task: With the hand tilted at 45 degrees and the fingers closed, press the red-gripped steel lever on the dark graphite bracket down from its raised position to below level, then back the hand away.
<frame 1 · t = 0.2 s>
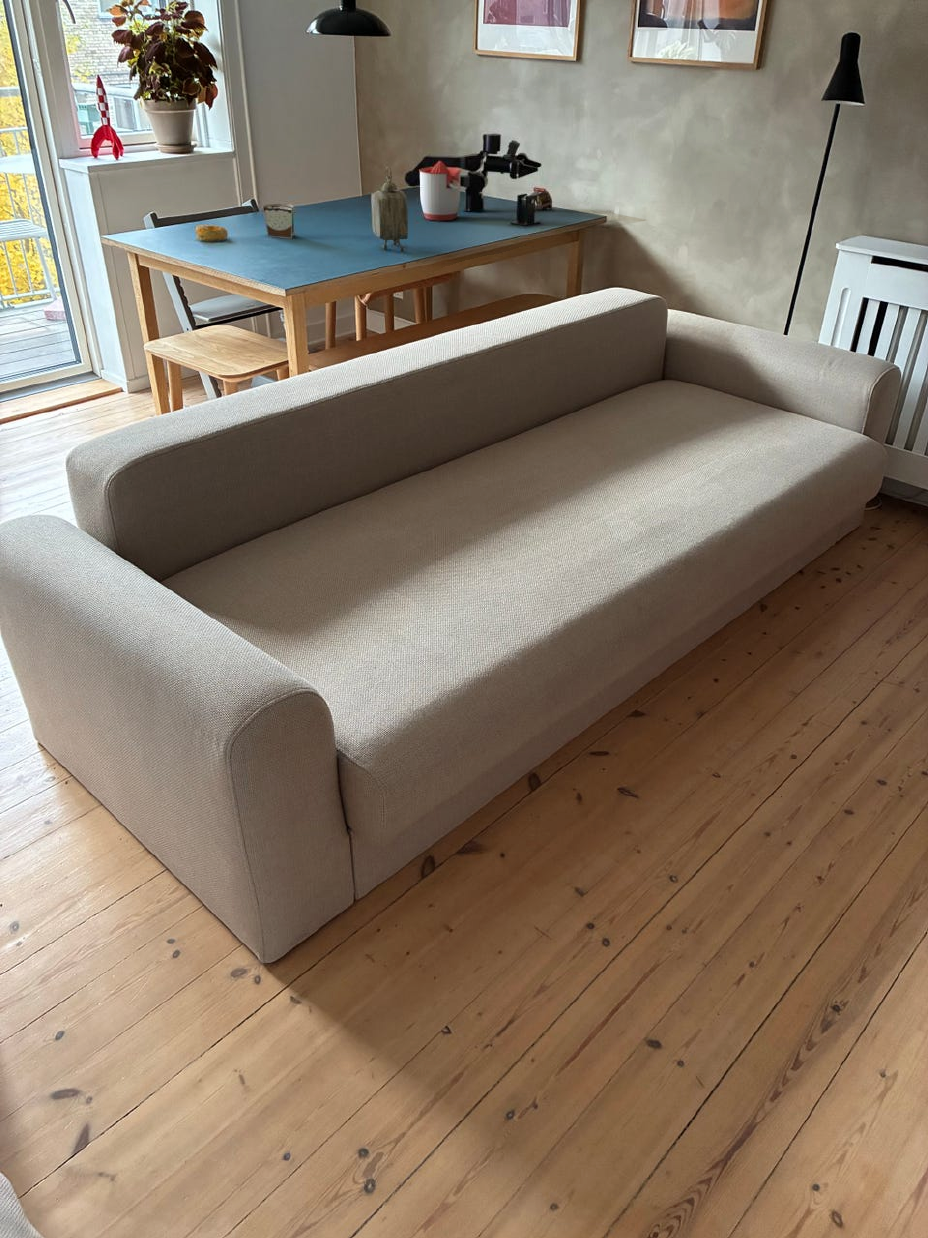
hand: (539, 167, 361), 16 cm above the table, tool horizontal, fingers open, 9 cm apart
bagel: (212, 239, 328), on the table
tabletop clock: (390, 249, 316), on the table
food container: (284, 236, 333), on the table
citrus juicer: (442, 219, 360), on the table
bracket: (525, 224, 351), on the table
mechanical counter: (536, 210, 376), on the table
lever: (532, 195, 348), point 10 cm above the table, hinge at 20.0°
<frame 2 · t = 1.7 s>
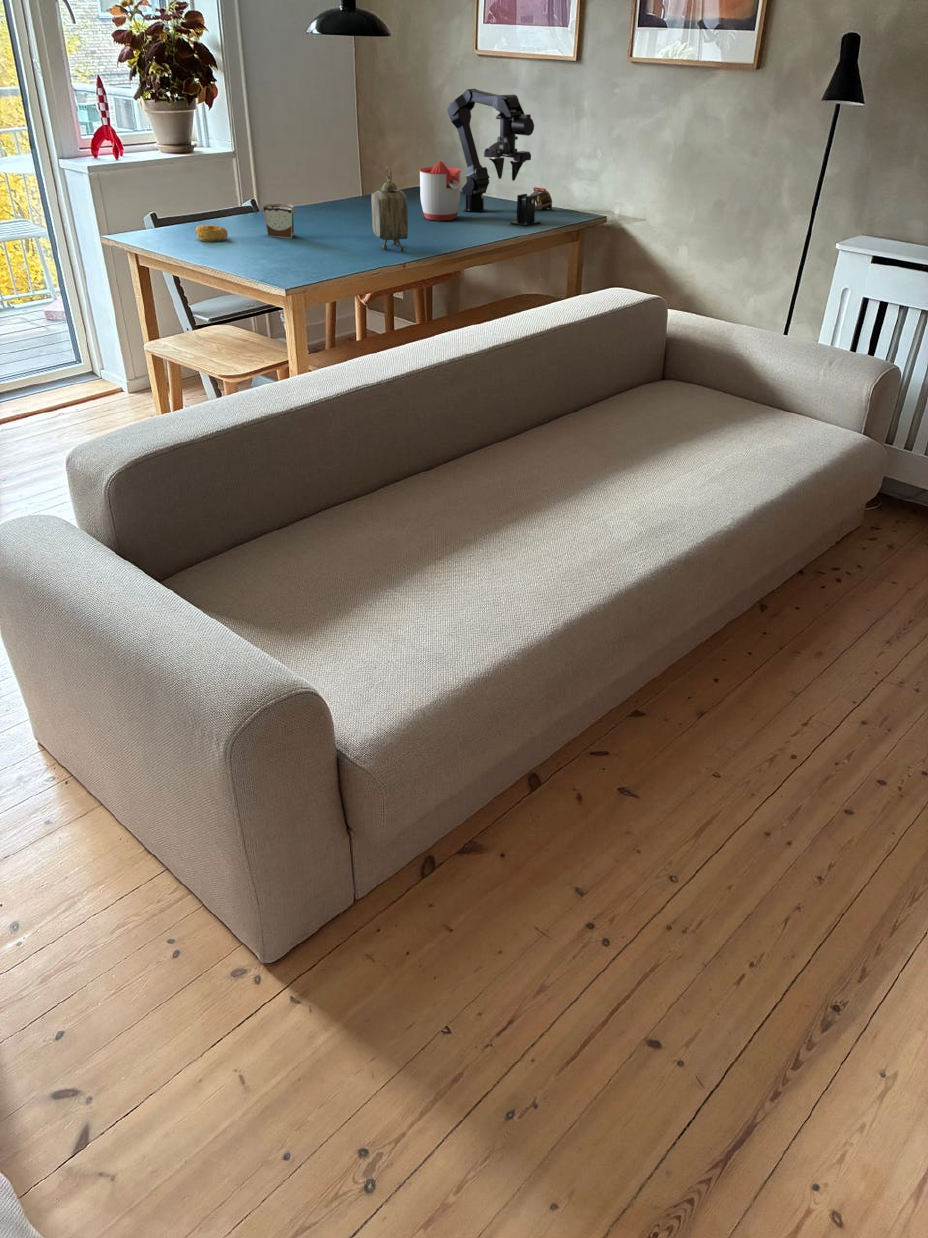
hand: (506, 179, 358), 13 cm above the table, tool pointing down, fingers open, 6 cm apart
nothing on the table moved.
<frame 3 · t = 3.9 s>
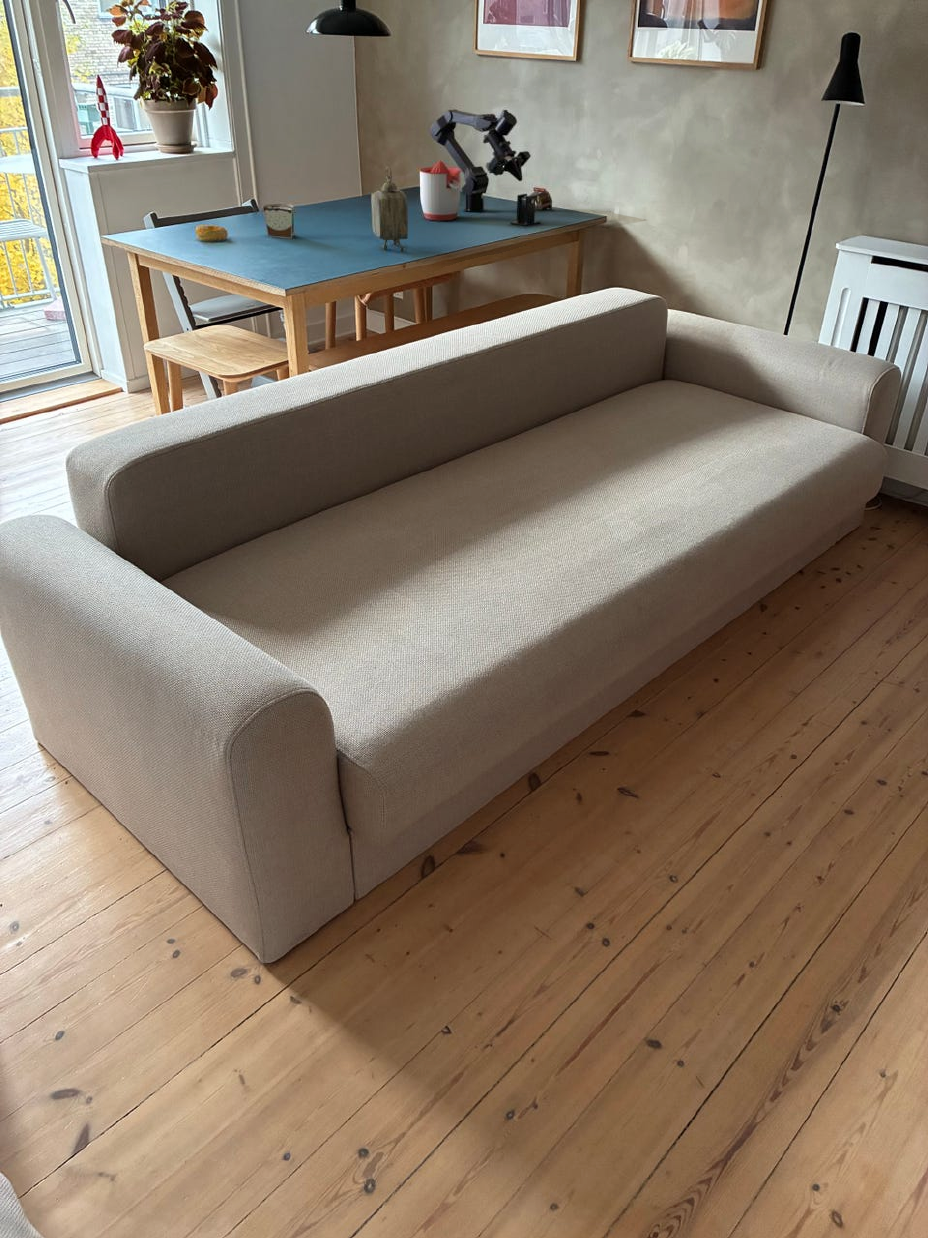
hand: (521, 180, 353), 14 cm above the table, tool tilted 45°, fingers closed
nothing on the table moved.
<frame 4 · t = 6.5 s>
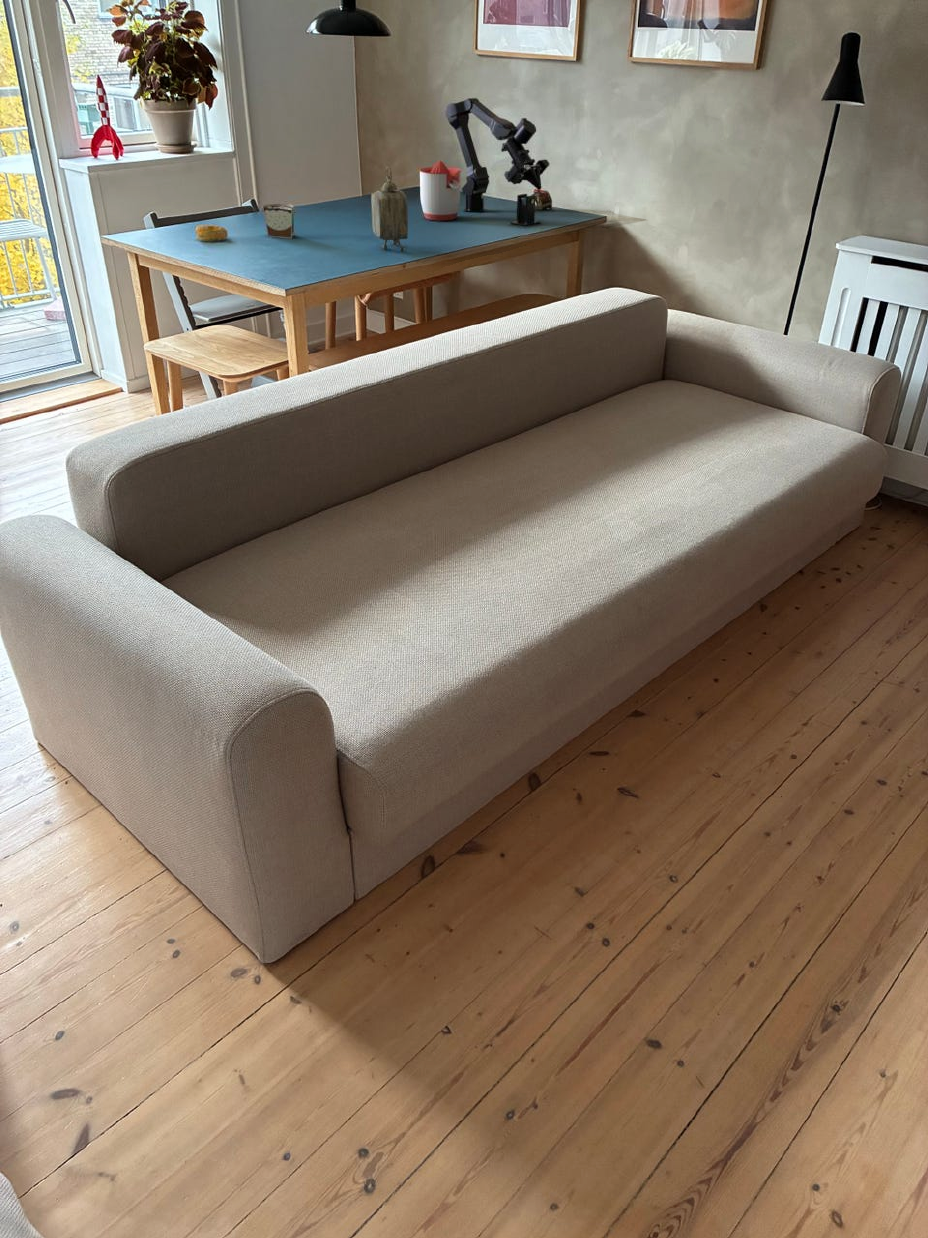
hand: (540, 188, 349), 11 cm above the table, tool tilted 45°, fingers closed
lever: (532, 196, 348), point 9 cm above the table, hinge at 14.7°, touching gripper
everything else where it was.
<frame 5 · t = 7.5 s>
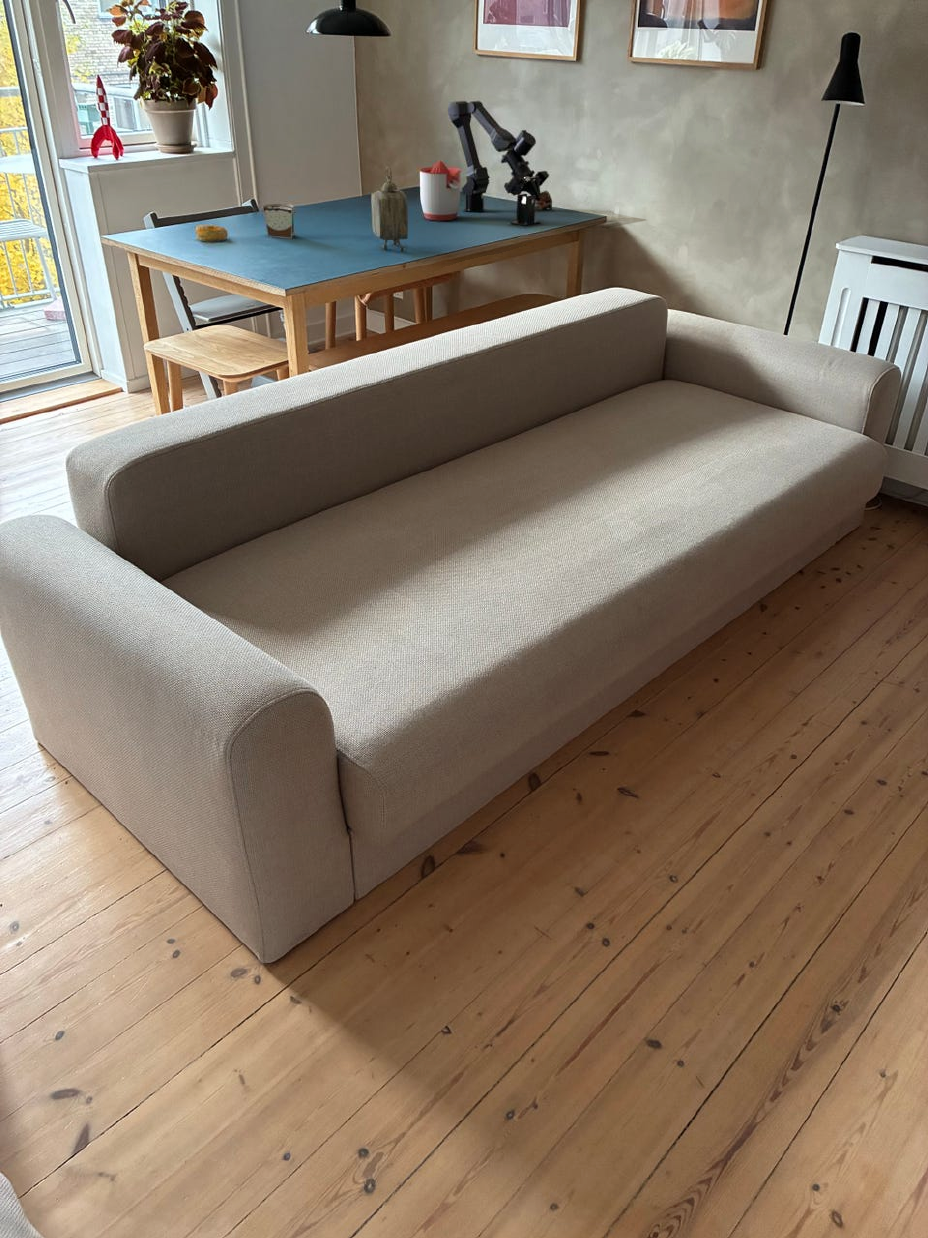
hand: (539, 200, 351), 8 cm above the table, tool tilted 45°, fingers closed, pressing on lever
lever: (532, 201, 349), point 8 cm above the table, hinge at -13.3°, touching gripper
everything else where it was.
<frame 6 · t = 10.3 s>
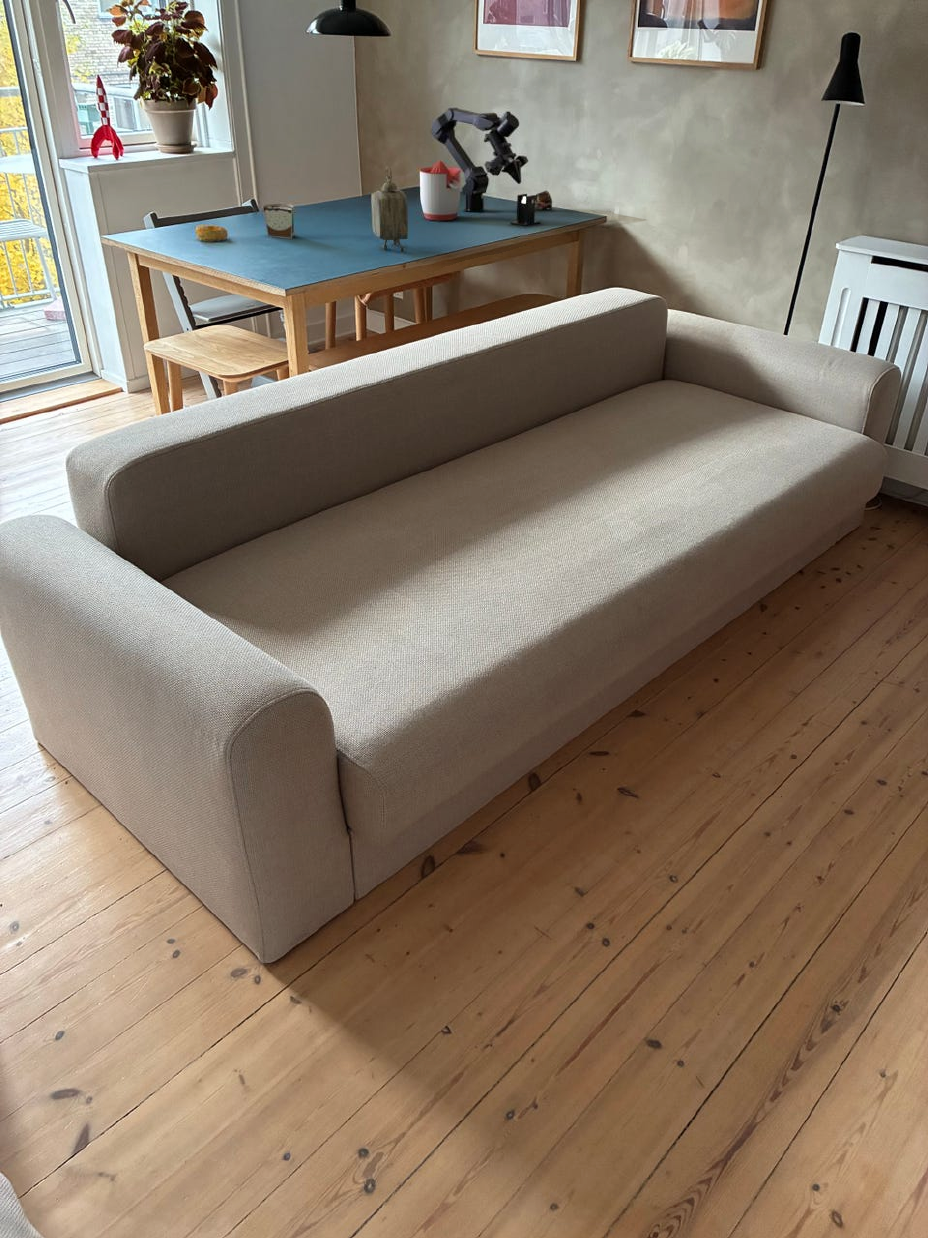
hand: (519, 183, 354), 12 cm above the table, tool tilted 40°, fingers closed
lever: (532, 201, 349), point 8 cm above the table, hinge at -15.5°
everything else where it was.
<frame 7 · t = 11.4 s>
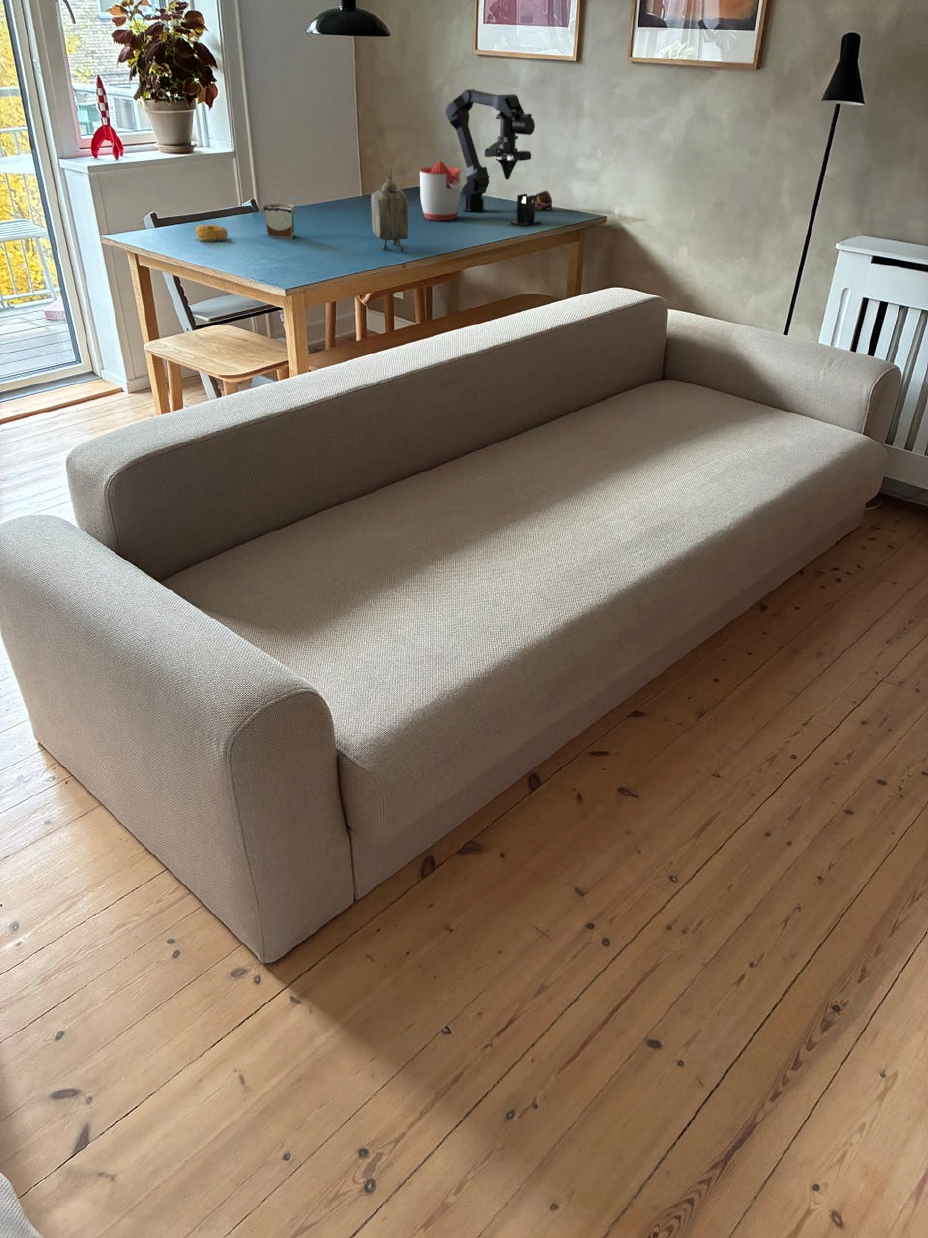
hand: (507, 178, 359), 13 cm above the table, tool pointing down, fingers closed
nothing on the table moved.
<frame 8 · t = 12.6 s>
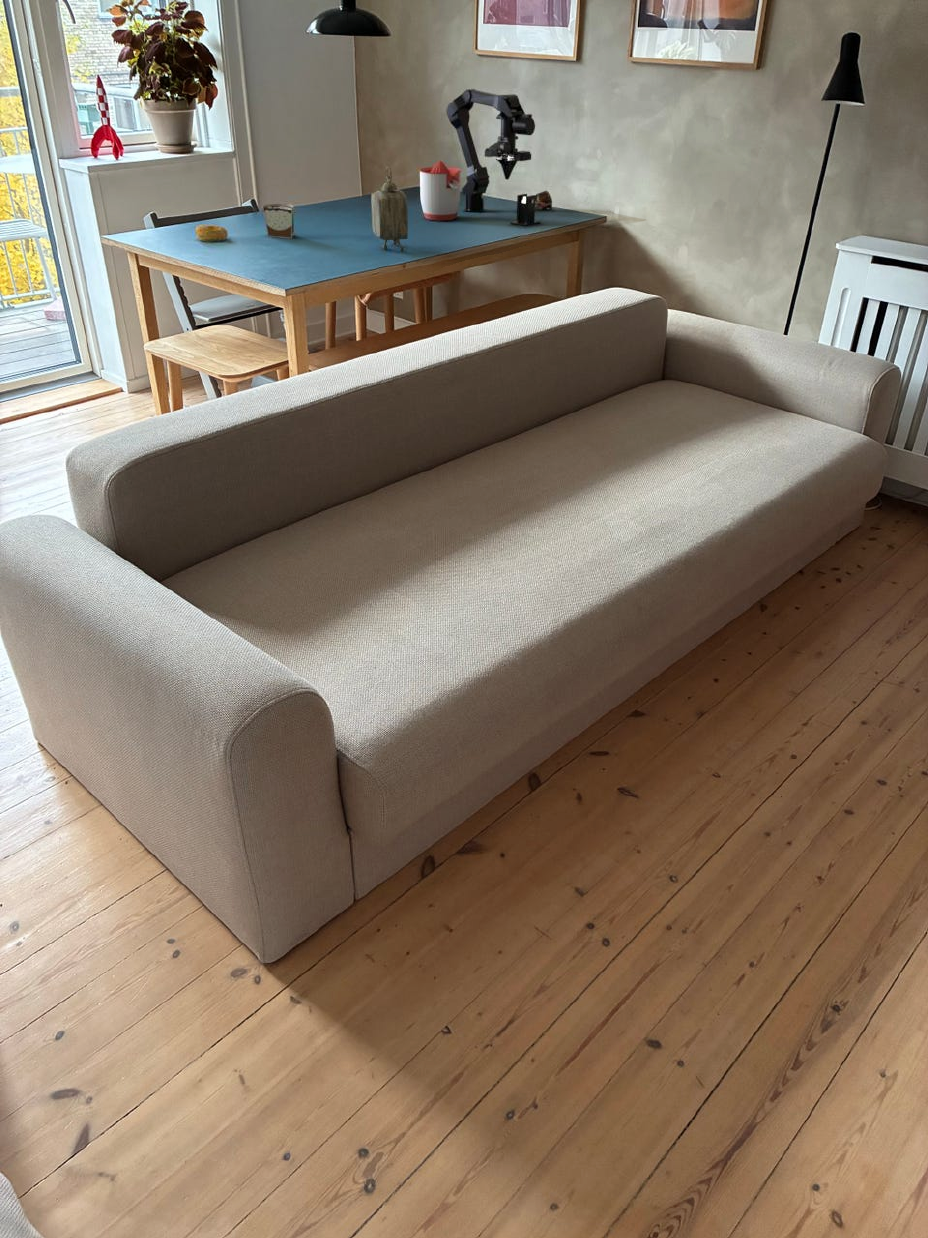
hand: (507, 179, 359), 13 cm above the table, tool pointing down, fingers closed
nothing on the table moved.
at the end: lever at -16° (first picture: +20°) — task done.
